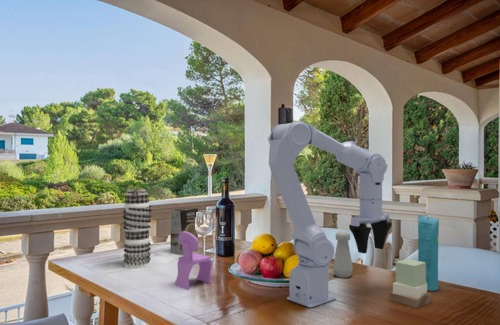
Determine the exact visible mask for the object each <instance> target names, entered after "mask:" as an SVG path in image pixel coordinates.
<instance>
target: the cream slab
mask: <svg viewBox="0 0 500 325" xmlns="http://www.w3.org/2000/svg"><path fill="white" fill-rule="evenodd" d="M392 292H393V294H398V295H402V296H407V297H411V298H415V299H419V298H420V297H422V296H423V295H425V294H426V293H428V290H427V283H425V284H422V285H420V286H417V287H412V286H408V285H404V284H400V283H396V281H395V282H393V283H392Z"/></svg>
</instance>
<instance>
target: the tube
mask: <svg viewBox="0 0 500 325" xmlns="http://www.w3.org/2000/svg"><path fill="white" fill-rule="evenodd" d="M439 226H440V218H439V217H438V218H437V217H430V216H426V215H421V214H417V240H418V241H417V247H418V248H417V255H418V257H417V261H420V262H426V283H427V291H438V290H439V229H440V228H439Z"/></svg>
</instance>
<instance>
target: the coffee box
mask: <svg viewBox="0 0 500 325" xmlns="http://www.w3.org/2000/svg"><path fill="white" fill-rule="evenodd" d="M196 212H198V213H199V208H198V207H197V208H196V207H185V208H184V207H183V208H175V209H170V253H171V252H172V253H173V254H177V253H178V255H183V250H182V245H181V244H180V243H179V240H178V236H179V234H180V233H181V232H183V231H186V232H189V233H191V234H193V235H194V236H195V237H196V238H197V239H198V240H199V232H198V233H197V232H196V230H195V217H196ZM198 250H199V248H198V249H197V251H198ZM194 252H196V250H195V251H194Z"/></svg>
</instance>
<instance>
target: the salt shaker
mask: <svg viewBox="0 0 500 325" xmlns="http://www.w3.org/2000/svg"><path fill="white" fill-rule="evenodd" d="M335 240H336V242H337V243H336V247H335V248H336V249H335V252H334V260H333V264H332V271H333V272H334V275H335V277H337V278H340V279H343V278H345V279H347V278H350V277H351V276H352V273H353V270H354V267H353V261H352V257H351V250H350V245H349V241H351V234H350V232H347V231H337V232H336V233H335Z"/></svg>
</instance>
